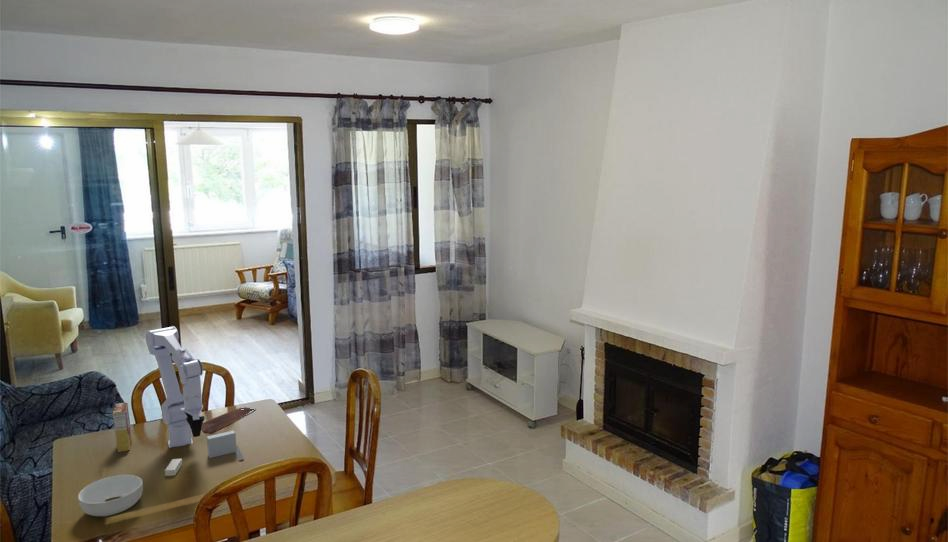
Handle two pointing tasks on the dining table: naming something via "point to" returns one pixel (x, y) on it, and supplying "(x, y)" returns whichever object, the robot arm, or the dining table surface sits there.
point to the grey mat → (239, 454)
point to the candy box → (122, 427)
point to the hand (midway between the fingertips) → (195, 432)
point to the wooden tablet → (224, 420)
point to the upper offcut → (173, 467)
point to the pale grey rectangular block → (221, 444)
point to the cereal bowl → (110, 495)
